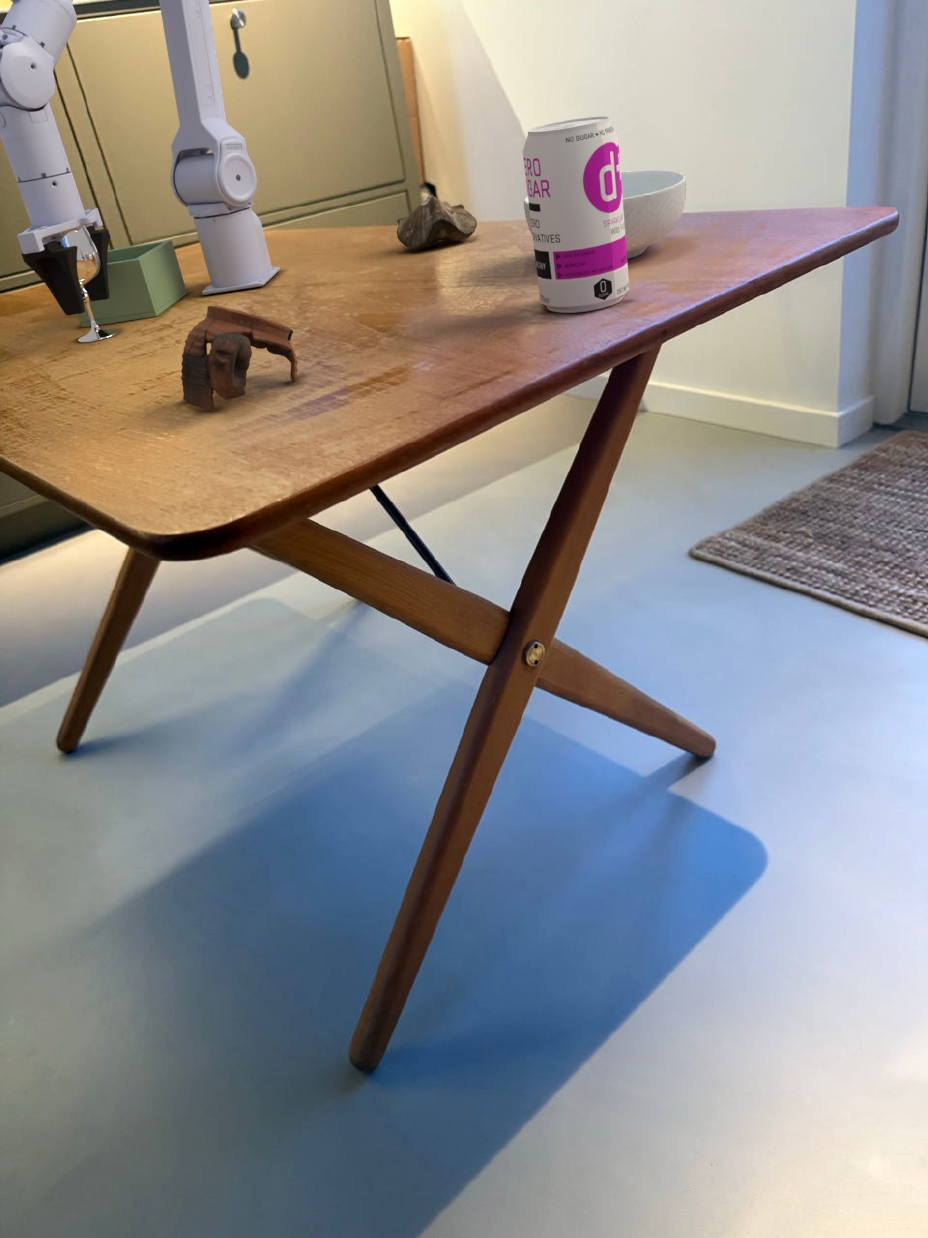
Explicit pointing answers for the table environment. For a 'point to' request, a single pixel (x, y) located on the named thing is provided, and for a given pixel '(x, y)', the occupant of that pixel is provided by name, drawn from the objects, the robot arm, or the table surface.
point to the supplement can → (577, 214)
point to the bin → (138, 284)
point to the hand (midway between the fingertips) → (88, 306)
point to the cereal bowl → (646, 206)
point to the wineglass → (85, 273)
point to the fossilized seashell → (435, 224)
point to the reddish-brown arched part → (228, 353)
